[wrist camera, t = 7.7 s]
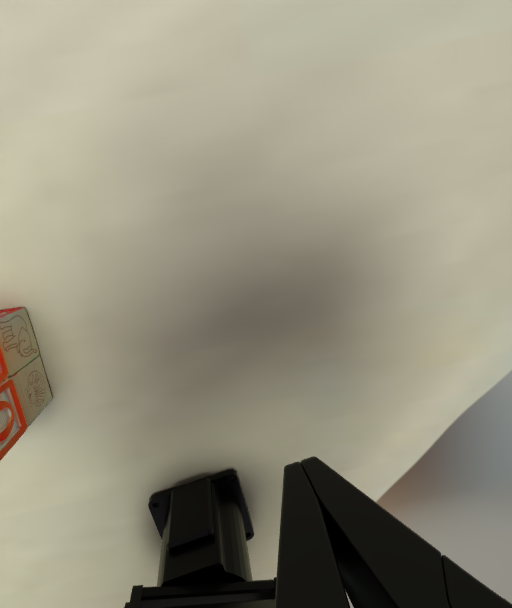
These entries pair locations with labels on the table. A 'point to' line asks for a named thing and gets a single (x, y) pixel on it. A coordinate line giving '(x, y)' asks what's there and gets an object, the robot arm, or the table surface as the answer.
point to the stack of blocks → (19, 377)
